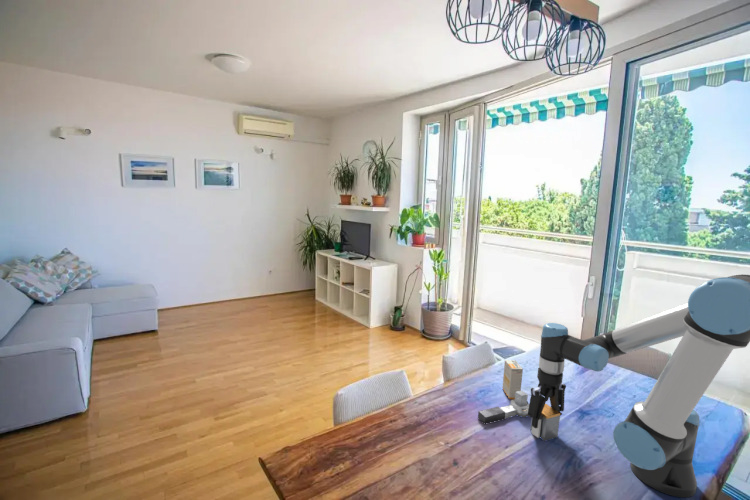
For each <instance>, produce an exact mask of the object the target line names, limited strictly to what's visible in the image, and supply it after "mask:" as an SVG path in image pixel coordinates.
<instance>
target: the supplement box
mask: <svg viewBox="0 0 750 500" xmlns="http://www.w3.org/2000/svg"><path fill="white" fill-rule="evenodd" d="M523 372H524V368H522V366H521V364H519V363H518V362H517V360H514V359H513V360H512V359H505V360H504V368H503V379H502V388H503V389H502V390H504V391H503V392H504V393H506V394H505V395H506V397H507V396H508V397H507V398H508V399H509V400H514V399H515V393H516V392H517V391H521V390H522V381H523Z"/></svg>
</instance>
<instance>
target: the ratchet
mask: <svg viewBox="0 0 750 500" xmlns="http://www.w3.org/2000/svg"><path fill="white" fill-rule="evenodd" d="M529 404H530V402H529V401H528V393H526V392H525V391H523V390H522V389H521V391H517V392H516V393H515V399H511V400H510V403H509V405H506V406H501V407H500V406H494V407H492V408H486V409H482V410H478V412H477V414H478V415H477V419H478V418H479V419H480V420H481V421H482V422H483V423H482V422H481V421H480V420H479V419H478V420H479V421H480V422H481V423H482V424H484V423H485V424H484V425H487V424H486V423H489V424H491V423H490V422H493V423H495V422H494V421H497V422H499V421H498V420H500V421H503V420H502V419H504V420H505V418H506V419H509V418H508V417H510V418H512V417H511V416H513V417H516V416H515V415H518V416H517V417H519V416H522V417H521V418H527V417H526V416H528V409H529ZM528 417H529V416H528Z"/></svg>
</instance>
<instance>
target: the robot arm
mask: <svg viewBox="0 0 750 500" xmlns="http://www.w3.org/2000/svg"><path fill="white" fill-rule="evenodd" d="M540 337H541V338H540V351H539V359H538V360H539V361H538V368H537V377H536V378H537V380H538V384H537V387H535V388H534V387H531V388H530V399H529V409H528V417H529V418H531V420H532V431H531V434H532V435H533V436H535V437H536V438H537V439H539V438H540V429H541V419H540V416H541V413H542V411H543V408H544V405H545V404H547V403H546V402H548V401H549V403H550V407H552V408H553V409H555V410H556V411H558V412H559V413H560V417H561V416H562V415H563V413H562V412H564V411H565V392H566V387H567V385H566V384H564V383H563V378H564V371H565V369H564V368H565V361H566V360H567V361H569V362H571V363H574V364H576V365H578V366H581V367H583V368H584V369H587V370H590V371H594V372H602V371H603V370H604V368H606V367H607V364H608V363H609V360H610V359H613V358H616V357H619V356H622V355H626V354H629V353H632V352H636V351H639V350H641V349H645V348H648V347H653V346H655V345H659V344H662V343H665V342H668V341H671V340H675V339H679V338H681V339H680V341H679V342H678V344H677V346H676V348H675V349H674V351H673V352H672V354H671V356H670V358H669V359H668V361H667V362H666V364H665V367H664V368H663V369H662V372H661V373H660V375H659V376H658V378H657V380H656V381H655V384H654V385H653V386H652V388H651V390H650V392H649V393H648V395H647V397H646V399H645V400H644V401H637V402H635V404H633V406H632V408H631V410H630V411H629V413H628V414H627V416H626V418H625V420H623V421H620V422H619V423H618V424H617V425H616V426H615V427H614V429H613V435H612V436H613V441H614V443H615V445H616V448H617V449H618V451H619V452H620V454H621V455H622V456H623V457H624V458H625V459H626V460H627V461H629V462H630V469H631V471H632V473H633V474H634V475H635V476H636V478H638V479H639V480H640V481H641V482H643V483H644V484H646V485H647V486H648V487H651V488H652V489H654V490H657V491H659V492H661V493H662V494H663V493H664V494H666V495H669V496H671V497H677V498H690V497H693V496H695V494H696V492H697V486H698V484H697V483H698V482H697V478H696V473H695V469H694V465H693V459H694V453H695V447H696V441H697V437H698V432H699V426H700V415H699V413H698V412H697V411H696V410H695V408H696V406H697V405H698V403H699V402H700V400H701V398H702V397H703V396H704V394H705V392H706V391H707V389H708V388H709V387H710V385H711V384H712V382H713V380H714V379H715V377H717V375H718V373H719V371H720V370H721V368H722V367H723V366H724V363H725V362H726V361H727V360H728V358H729V356H730V355H731V353H732V352H733V350H737V349H745V348H746V347H748V345H749V343H750V274H736V275H731V276H727V277H716V278H713V279H712V278H711V279H710V280H707V281H705V282H703V283H702V284H700V285H698V286H697V287H696V288H695V289H693V291H692V292H691V293H690V295H689V297H688V300H687V302H685V303H683V304H680V305H678V306H676V307H675V306H674V307H673V308H669V309H667V310H664V311H661V312H659V313H657V314H654V315H651V316H648V317H645V318H643V319H640V320H637V321H635V322H632V323H629V324H626V325H624V326H623V325H622V327H619V328H615V329H613V330H609V331H607V332H605V333H603V334H599V335H597V336H593V337H589V338H586V339H580V338H577V337H574V336H572V335H570V334H569V329H568V327H567V326H565V325H564V324H561V323H556V322H547V323H545V324H543V326H542V331H541V335H540ZM536 414H537V415H536ZM540 439H541V438H540Z"/></svg>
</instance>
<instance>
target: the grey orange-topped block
mask: <svg viewBox="0 0 750 500" xmlns="http://www.w3.org/2000/svg"><path fill="white" fill-rule="evenodd" d="M536 415H537V414H536ZM560 418H561V416H560V413H559V412H558V411H556V410H555V409H553V408H552V407H551V405H549V404H547V403H545V405H544V408H543V411H542V413H541V416H540V419H541V429H540V437H541V438H542V439H543V440H542V439H541V438H540V439H541V440H542V441H544V442H546V441H545V440H547V441H549V439H550V440H553V439H556V438H558V437H559V429H560V428H559V427H560V420H561V419H560ZM531 430H532V419H531V420H530V431H531ZM555 437H556V438H555ZM552 438H553V439H552Z"/></svg>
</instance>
